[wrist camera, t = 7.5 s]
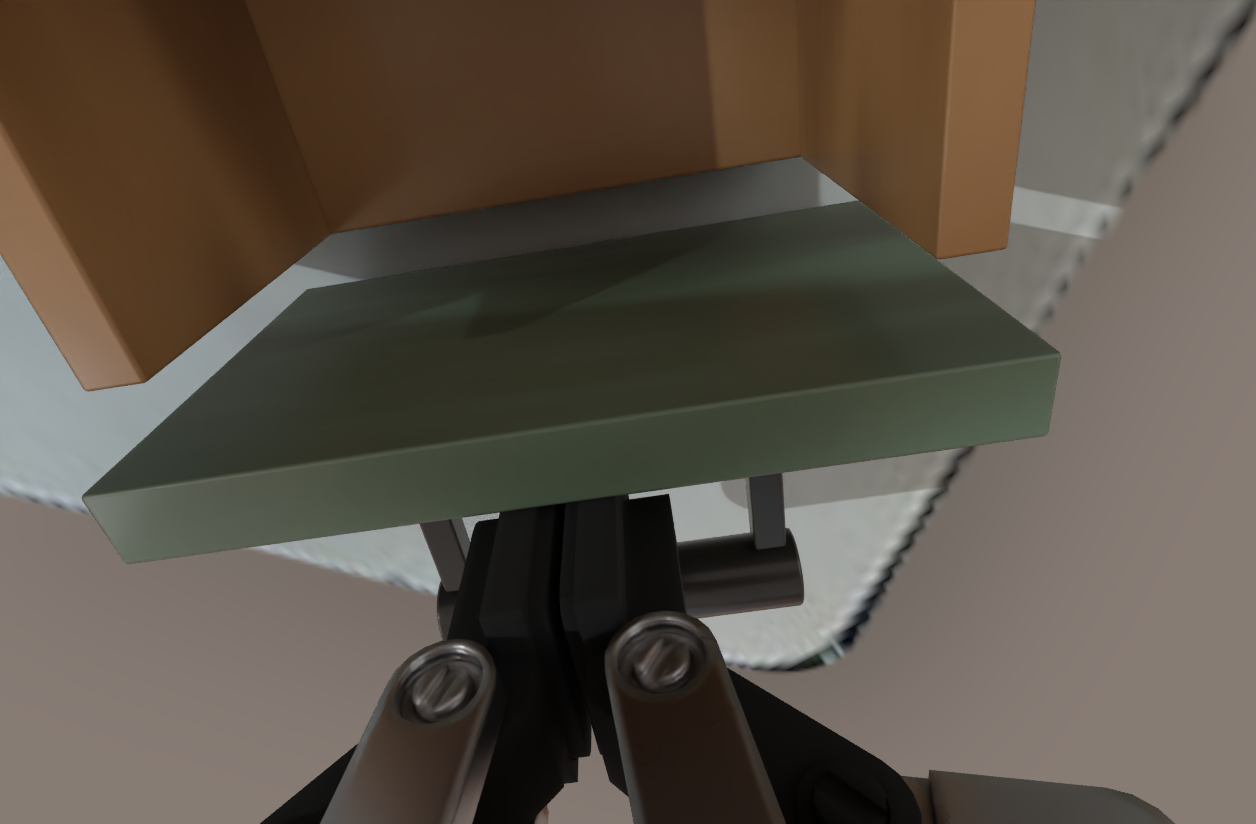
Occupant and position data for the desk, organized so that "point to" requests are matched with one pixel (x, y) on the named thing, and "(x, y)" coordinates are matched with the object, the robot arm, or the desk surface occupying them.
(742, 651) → the desk surface
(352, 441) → the two-tone handled box
